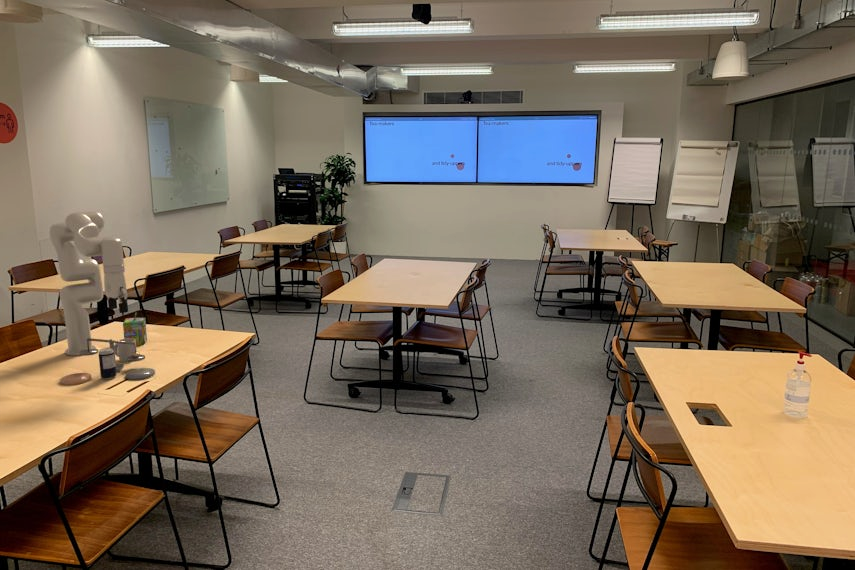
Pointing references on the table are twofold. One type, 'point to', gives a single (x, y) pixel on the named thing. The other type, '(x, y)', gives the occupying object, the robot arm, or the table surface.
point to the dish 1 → (75, 379)
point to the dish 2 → (140, 373)
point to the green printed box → (135, 329)
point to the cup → (124, 349)
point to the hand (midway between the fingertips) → (118, 310)
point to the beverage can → (107, 363)
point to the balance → (133, 358)
